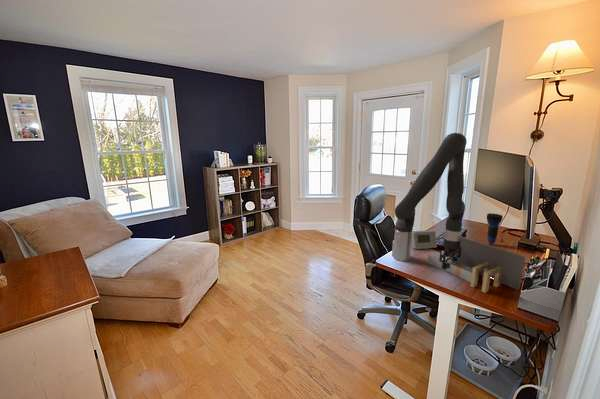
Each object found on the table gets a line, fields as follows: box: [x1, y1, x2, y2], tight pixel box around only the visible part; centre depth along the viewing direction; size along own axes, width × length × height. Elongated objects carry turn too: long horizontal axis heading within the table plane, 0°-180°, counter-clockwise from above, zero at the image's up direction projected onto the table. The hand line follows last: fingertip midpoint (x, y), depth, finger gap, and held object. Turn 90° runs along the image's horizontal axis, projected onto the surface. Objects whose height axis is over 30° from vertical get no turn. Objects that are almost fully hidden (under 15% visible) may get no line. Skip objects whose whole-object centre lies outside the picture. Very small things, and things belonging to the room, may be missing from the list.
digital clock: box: [411, 229, 438, 250], centre depth 166 cm, size 16×9×11 cm, turn 86°
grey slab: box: [427, 252, 480, 283], centre depth 136 cm, size 24×5×5 cm, turn 27°
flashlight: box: [486, 212, 503, 246], centre depth 168 cm, size 8×8×20 cm
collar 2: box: [481, 266, 503, 294], centre depth 119 cm, size 2×12×10 cm, turn 118°
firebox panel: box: [450, 236, 526, 291], centre depth 131 cm, size 32×1×16 cm, turn 28°
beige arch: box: [469, 262, 491, 288], centre depth 124 cm, size 2×12×10 cm, turn 118°
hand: (449, 267), depth 138 cm, fingers open, 8 cm apart
